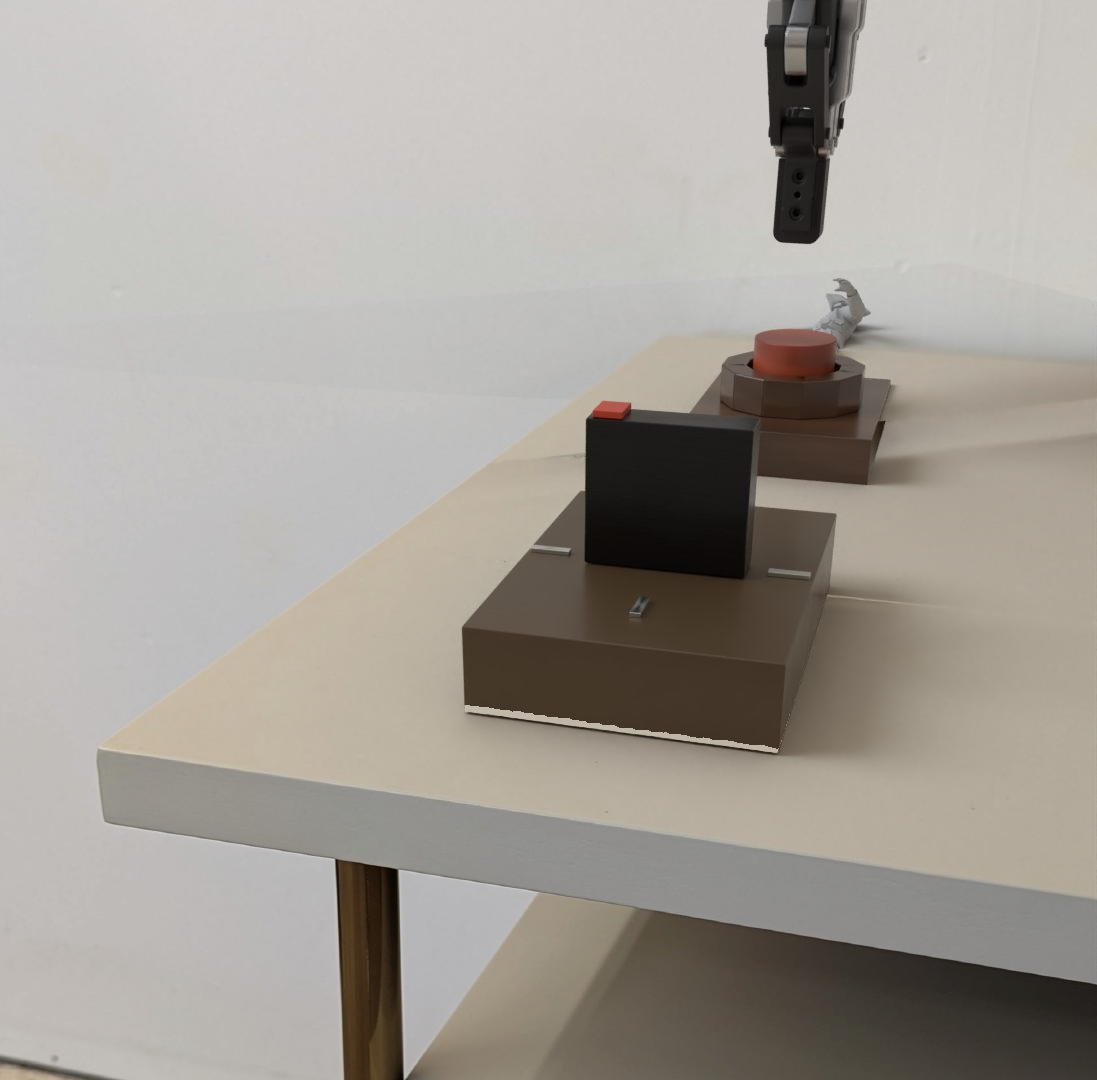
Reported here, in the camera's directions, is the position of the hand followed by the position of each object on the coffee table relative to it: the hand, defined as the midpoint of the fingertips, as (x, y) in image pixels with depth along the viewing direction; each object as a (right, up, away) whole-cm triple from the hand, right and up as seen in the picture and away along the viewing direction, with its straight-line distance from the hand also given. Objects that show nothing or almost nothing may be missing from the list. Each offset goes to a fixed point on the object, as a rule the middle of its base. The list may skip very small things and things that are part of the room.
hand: (797, 240), depth 67 cm
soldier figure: (+4, -3, +16) cm, 17 cm away
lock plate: (-8, -20, -18) cm, 28 cm away
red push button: (0, -6, +2) cm, 6 cm away
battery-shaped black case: (-8, -18, -19) cm, 27 cm away
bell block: (0, -9, +4) cm, 10 cm away
